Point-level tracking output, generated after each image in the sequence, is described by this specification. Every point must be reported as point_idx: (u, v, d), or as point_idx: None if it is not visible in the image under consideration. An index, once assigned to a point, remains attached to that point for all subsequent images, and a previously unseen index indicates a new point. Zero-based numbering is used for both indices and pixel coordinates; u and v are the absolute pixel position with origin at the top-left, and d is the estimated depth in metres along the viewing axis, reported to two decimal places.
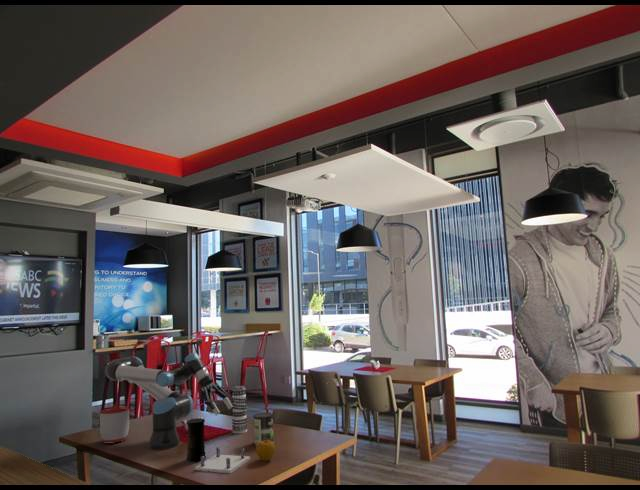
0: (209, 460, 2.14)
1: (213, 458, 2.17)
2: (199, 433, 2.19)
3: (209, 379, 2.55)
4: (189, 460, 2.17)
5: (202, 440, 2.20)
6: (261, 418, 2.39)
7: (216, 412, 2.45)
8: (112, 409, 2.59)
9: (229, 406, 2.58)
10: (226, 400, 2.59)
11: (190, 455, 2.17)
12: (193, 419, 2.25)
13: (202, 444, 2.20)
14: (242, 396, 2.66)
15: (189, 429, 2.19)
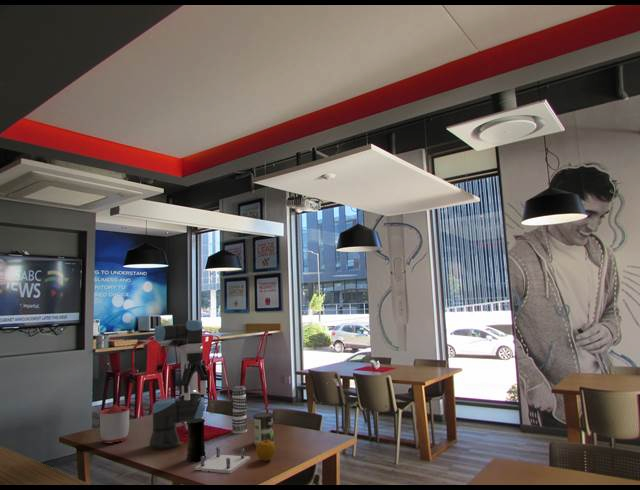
0: (209, 460, 2.14)
1: (213, 458, 2.17)
2: (199, 433, 2.19)
3: (198, 358, 2.24)
4: (189, 460, 2.17)
5: (202, 440, 2.20)
6: (261, 418, 2.39)
7: (186, 397, 2.17)
8: (112, 409, 2.59)
9: (202, 392, 2.30)
10: (203, 384, 2.31)
11: (190, 455, 2.17)
12: (193, 419, 2.25)
13: (202, 444, 2.20)
14: (242, 396, 2.66)
15: (189, 429, 2.19)
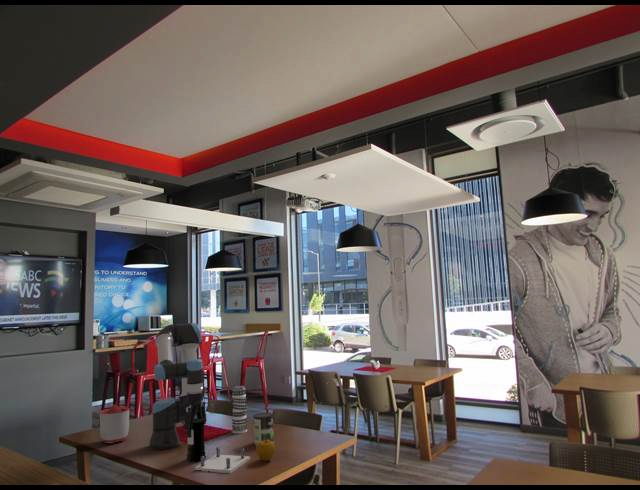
0: (209, 460, 2.14)
1: (213, 458, 2.17)
2: (199, 433, 2.19)
3: (199, 399, 2.21)
4: (189, 460, 2.17)
5: (202, 440, 2.20)
6: (261, 418, 2.39)
7: (190, 442, 2.17)
8: (112, 409, 2.59)
9: None
10: None
11: (190, 455, 2.17)
12: None
13: (202, 444, 2.20)
14: (242, 396, 2.66)
15: None
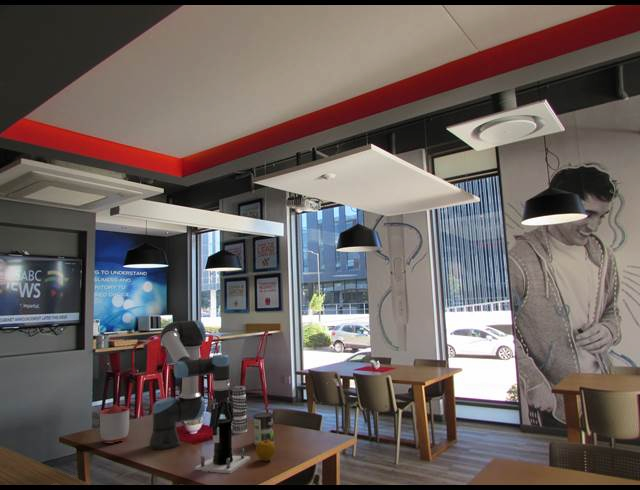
0: (209, 460, 2.14)
1: (213, 458, 2.17)
2: (226, 434, 2.10)
3: (226, 396, 2.12)
4: (216, 462, 2.08)
5: (230, 441, 2.11)
6: (261, 418, 2.39)
7: (215, 440, 2.07)
8: (112, 409, 2.59)
9: None
10: None
11: (217, 457, 2.08)
12: (220, 419, 2.16)
13: (229, 446, 2.11)
14: (242, 396, 2.66)
15: None
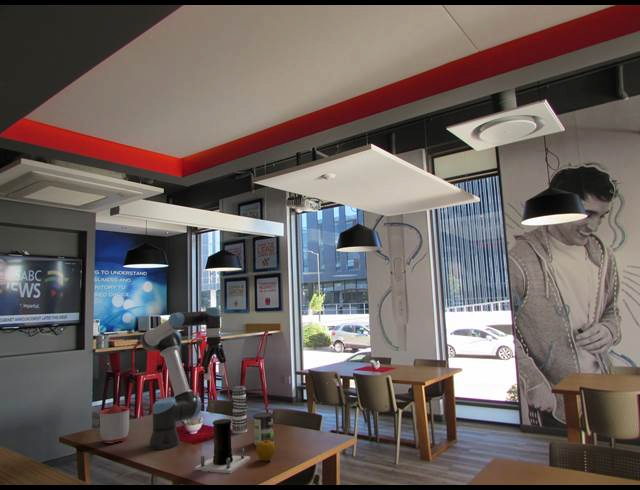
0: (209, 460, 2.14)
1: None
2: (226, 434, 2.10)
3: (217, 342, 2.43)
4: (216, 462, 2.08)
5: (229, 442, 2.11)
6: (261, 418, 2.39)
7: (206, 378, 2.36)
8: (112, 409, 2.59)
9: (220, 373, 2.49)
10: (221, 366, 2.49)
11: (217, 457, 2.08)
12: (219, 420, 2.15)
13: (229, 446, 2.11)
14: (242, 396, 2.66)
15: (216, 430, 2.10)
